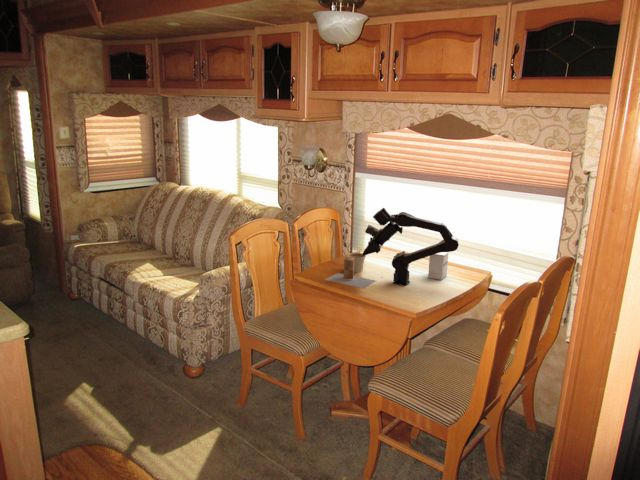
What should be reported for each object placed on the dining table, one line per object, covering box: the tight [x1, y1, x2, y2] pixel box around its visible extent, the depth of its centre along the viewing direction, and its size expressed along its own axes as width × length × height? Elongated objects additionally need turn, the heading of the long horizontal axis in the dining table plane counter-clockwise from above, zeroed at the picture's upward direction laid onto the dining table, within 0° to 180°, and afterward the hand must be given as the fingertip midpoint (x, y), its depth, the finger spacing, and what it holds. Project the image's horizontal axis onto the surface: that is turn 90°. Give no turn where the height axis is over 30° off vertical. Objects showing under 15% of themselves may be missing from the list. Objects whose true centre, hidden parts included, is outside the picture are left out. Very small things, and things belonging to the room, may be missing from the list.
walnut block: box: [343, 256, 355, 280], centre depth 253 cm, size 4×4×10 cm
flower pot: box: [347, 252, 367, 274], centre depth 265 cm, size 9×9×9 cm
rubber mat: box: [324, 272, 377, 289], centre depth 251 cm, size 22×13×1 cm, turn 57°
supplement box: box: [427, 252, 449, 281], centre depth 257 cm, size 7×7×13 cm
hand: (363, 253), depth 249 cm, fingers open, 4 cm apart
